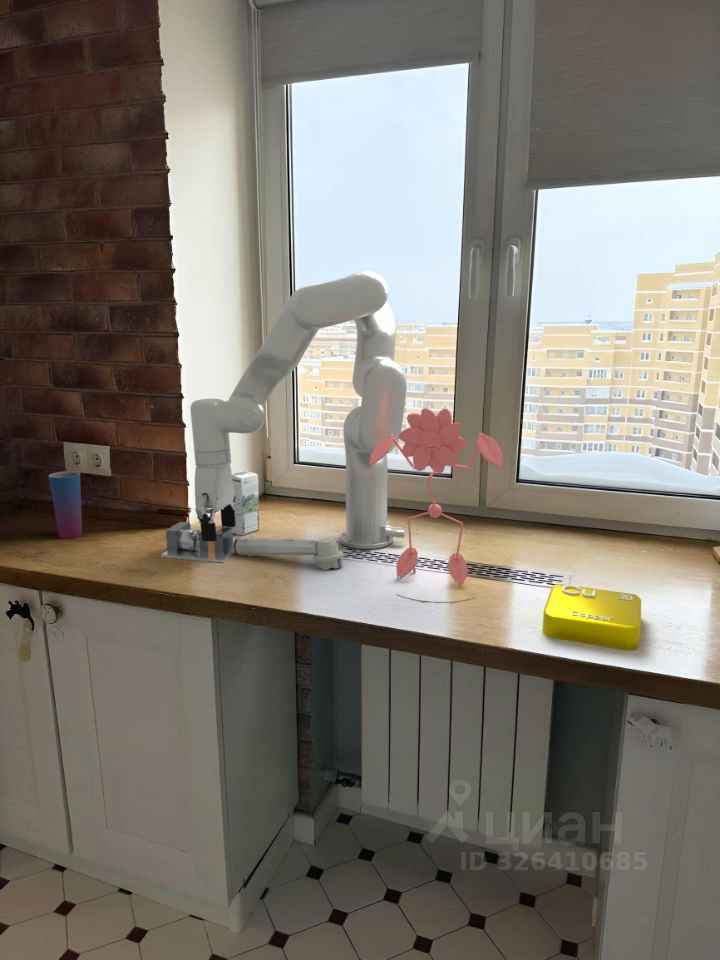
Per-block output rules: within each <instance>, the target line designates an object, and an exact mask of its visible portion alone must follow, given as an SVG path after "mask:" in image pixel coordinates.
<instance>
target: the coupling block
mask: <svg viewBox="0 0 720 960" xmlns="http://www.w3.org/2000/svg"><path fill="white" fill-rule="evenodd" d="M216 537H217V540H216V541H203V540H202V535H201V531H200V532H199V540H200V554H201V555H210V556H223V557H224V556H225V555H226V554H228V553H229V552H230V551H231V550H233V544H234V539H233V537H234V533H233V532H232V528H229V527H224V526H222V525H216Z"/></svg>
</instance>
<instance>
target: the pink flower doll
mask: <svg viewBox="0 0 720 960" xmlns="http://www.w3.org/2000/svg"><path fill="white" fill-rule="evenodd" d="M406 420H407V423H408V425H409V427H407V428H405V429H402V430H401V433H400V434H399V441H402V442H404V444H403V446H402V447H401V445H400V444H399V441H398V442H397V441H396V440H395V438H394V435H393V434H391V435H390V436H387V437H385V438H384V439H383V440H382V441H380V442H379V443H378V444H377V446H376V447H375V448H374V450H373V452H372V454H371V458H370V465H373V464H374V463H376V462H377V461H379V460H380V459H382V458H383V457H384V456H385V455H386V454H387V453H388V451H389V449H390V448H391V446H392V443H393V441H394V443H395V444H396V447H397V448H398V450H399V451H400V452H401V454H402V456H403V457H404V458H405V460H406V461H407V463H408V464H409V466H410V467H412V470H416V471H417V472H423V471H424V470H426V468H427V467H430V468H431V470H432V472H431V473H430V474H429V476H428V477H427V478H426V479H427V480H426V484H427V487H428V489H429V490H428V491H429V494H430V497H431V498H430V499H431V501H432V504H430V505H429V507H427V511H426V512H423V513H420V514H416V515H414V516H410V517H408V519H407V525H408V540H409V541H408V542H409V547H407V548H406V549H405V550H404V551H403V552H402V553H401V554H400V556H399V557H398V559H397V563H396V577H397V578H396V579H397V581H399V580H401V579H403V578H405V577H406V576H408V575H409V574H410V573H411V572H413V573H416V572H417V570H416V564H417V562H418V557H419V556H418V555H419V554H418V553H419V552H418V550H417V549H416V548H415V547H414V546H412V534H411V533H412V532H411V520H412V519H415V518H416V519H417V518H418V517H421V516H425V515H429V516H430V517H431V518H435V519H436V518H439V517H440V516H443V517H444V518H447V519H449V520H451V521H454V522H455V523H458V524H460V529H459V536H458V543H457V549H456V552H453V553H452V554H451V555H449V559H448V565H447V567H448V572H449V574H450V577H451V578H452V579H453V580H454V581H455V583H456V584H458V585H459V587H461V588H462V587H463V585H464V583H465V582H466V579H467V576H468V569H469V568H468V564H467V561H466V559H465V558H464V557H463V555H462V554H461V553H459V551H460V547H461V540H462V533H463V529H464V528H463V527H464V524H463V522H462V521H460V520H457V519H455V518H453V517H451V516H449V515H446V514H444V513H442V506H441V505H439V504H437V503H436V502H435V501H436V500H435V498H434V493H433V488H432V483H431V479H432V478H433V476H434V475H435V473H437V474H442V473H444V470H445V468H446V467H452V468H459V469H463V470H470V468H471V467H472V464H473V461H474V459H475V457H476V456H477V455H476V454H477V451H478V450H479V452H480V455H481V456H482V457H483V458H484V459H485V460H486V461H487V462H489V463H490V464H492V465H493V466H495V467H496V468H499V469H500V468H502V464H503V463H502V462H503V452H502V450H501V447H500V445H499V444H498V442H497V441H496V440H495V439H494V438H493V437H491V436H490V435H487V434H484V432H479V434H478V436H479V437H478V439H477V442H476V445H475V448H474V449H473V452H472V454H471V457H470V460H469V462H468V465H462V464H461V465H460V464H459V461H460V460H459V456H458V455H457V453H458V452H461V451H463V450H464V449H465V448H467V446H468V442H467V439H464V438H463V437H461V436H460V435H461V431H462V424H461V423H459V422H453V419H452V415H451V412H450V410H449V409H448V408H442V409H441V410H439V412H438V413H437V414H435V412H434V411H432V410H430V409H429V408H423V409H421V412H420V414H419V413H415V412H414V413H413V412H412V413H409V414H407V416H406ZM388 454H389V453H388ZM388 454H387V455H388ZM410 458H412V460H411V459H410ZM412 461H413V462H412ZM388 566H390V565H389V564H387V565H386V566H385V567H384V569H385V568H387V567H388ZM396 596H398V597H402V598H404V599H408V600H413V601H417V602H422V603H425V604H427V603H431V601H428V600H420V599H414V598H409V597H407V596H403V595H400V594H397V593H396ZM475 598H476V596H475V597H471V598H468V599H463V600H462V599H461V600H456V601H455V600H454V601H451V602H450V601H434V603H436V604H437V603H439V604H441V603H443V604H444V603H445V604H446V603H450V604H452V605H453V603H454V604H455V603H456V604H457V603H459V602H464V601H470V600H473V599H475Z"/></svg>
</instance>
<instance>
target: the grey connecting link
mask: <svg viewBox="0 0 720 960" xmlns="http://www.w3.org/2000/svg"><path fill="white" fill-rule="evenodd" d="M233 549H234V553H235V554H234V555H237V556H244V555H247V556H249V557H250V558H252V557H254V556H255V557H256V556H313V557H312V558H313V559H314V561H315V562H316V563H315V564H316V567H317V569H319V568H320V569H321V570H325V571H327V570H328V571H329V570H330V569H331V568H333V569H334V570H335V569H339V568H341V567H342V566H344V565H343V557H344V552H343V551H342V550H339V547H338V543H337V541H336V539H335V538H331V537H330V538H329V537H328V538H325V537H324V538H320V539H319V540H311V539H310V540H309V539H289V538H273V537H271V538H270V537H269V538H268V537H255V536H254V535H249V537H248V536H247V537H245V536H244V537H237V538H235V539H234V540H233ZM247 556H246V557H247ZM251 556H252V557H251Z"/></svg>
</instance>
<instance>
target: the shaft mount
mask: <svg viewBox="0 0 720 960" xmlns="http://www.w3.org/2000/svg"><path fill="white" fill-rule="evenodd" d="M199 532H201V529H191V522H187V521H186V522H185V521H179V522H177V523H176V524H174V525H173V526H170V527H168V528H167V529H165V537H166V540H165V541H166V551H164V552H162V553H161V554H160V557H161V558H166V559H179V560H189V561H200V562H209V561H211V562H212V563H220V562H221V564H224V563H225V562H226V561H227V560H229V559H230V558H231V557H232V556H234V555H236V554H235V553H234V549H233V550H231V551H230V552H229V553H228V554H226V555H225V556H224V557H223V556H210V555H201V554H200V540H199Z"/></svg>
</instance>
